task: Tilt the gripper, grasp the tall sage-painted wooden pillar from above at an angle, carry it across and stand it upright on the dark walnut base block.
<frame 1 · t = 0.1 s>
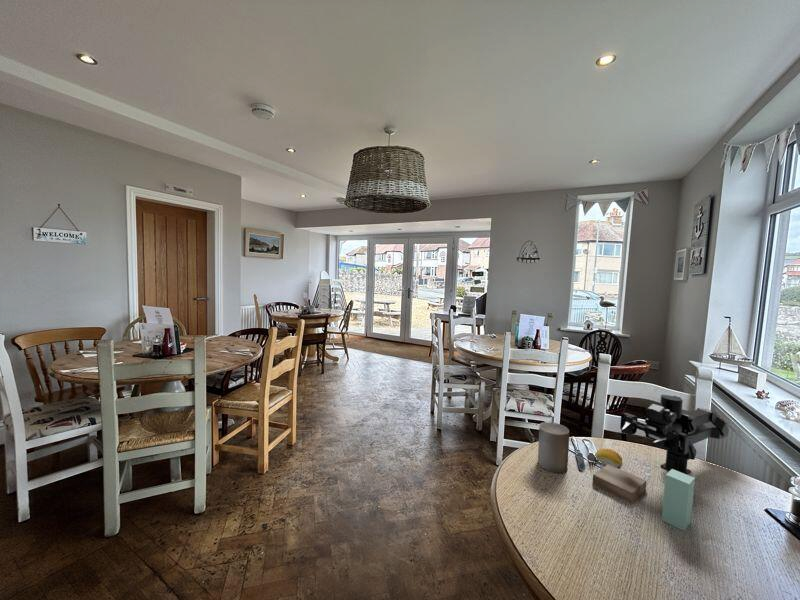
hand: (636, 437, 104), 17 cm above the table, tool horizontal, fingers open, 9 cm apart
walnut base: (618, 486, 106), on the table
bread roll: (608, 462, 121), on the table
pillar candle: (551, 466, 117), on the table
pillar: (676, 521, 91), on the table
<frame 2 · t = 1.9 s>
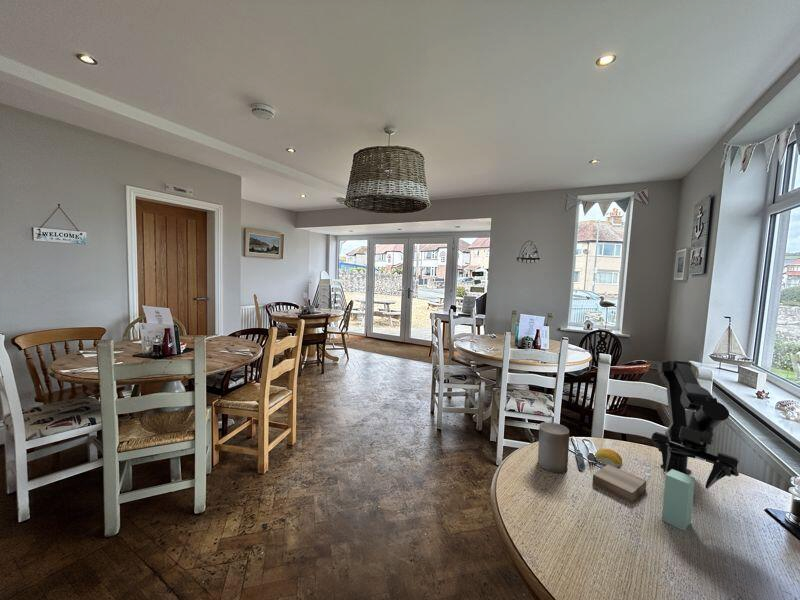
hand: (684, 479, 92), 11 cm above the table, tool tilted 45°, fingers open, 9 cm apart
nothing on the table moved.
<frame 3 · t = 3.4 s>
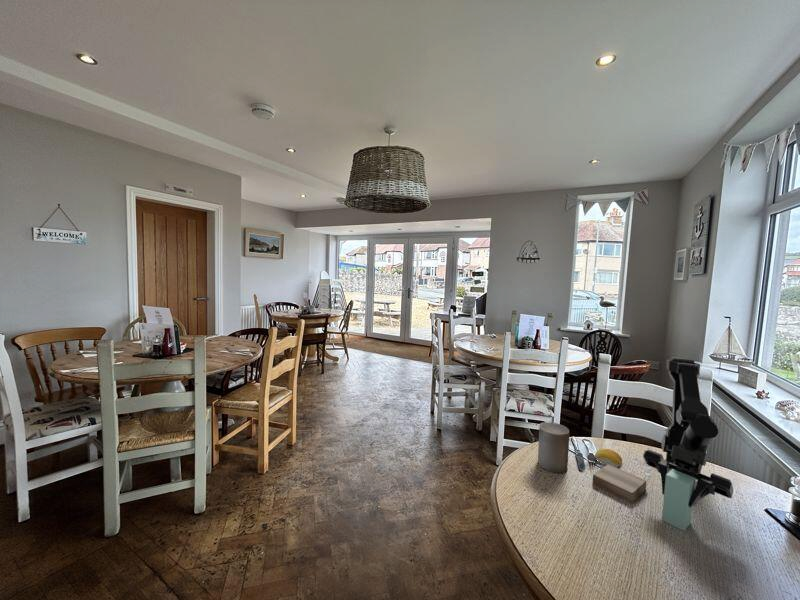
hand: (676, 500, 90), 7 cm above the table, tool tilted 45°, fingers closed on pillar, 5 cm apart
pillar: (676, 521, 91), on the table, touching gripper
everything else where it was.
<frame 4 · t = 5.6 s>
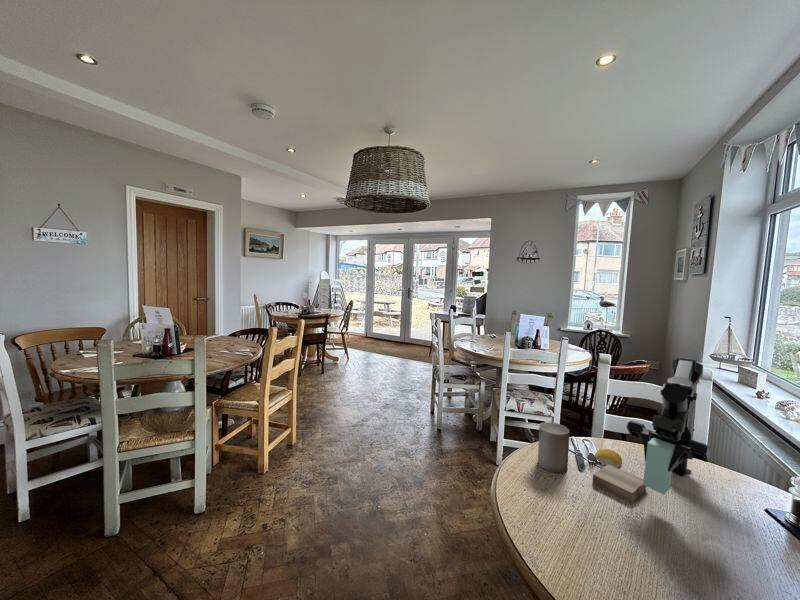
hand: (657, 466, 94), 13 cm above the table, tool tilted 45°, fingers closed on pillar, 5 cm apart
pillar: (656, 486, 96), point 6 cm above the table, touching gripper
everything else where it was.
when the fingers open (11 cm above the table, at t = 7.3 s): pillar drops 1 cm, resting on walnut base.
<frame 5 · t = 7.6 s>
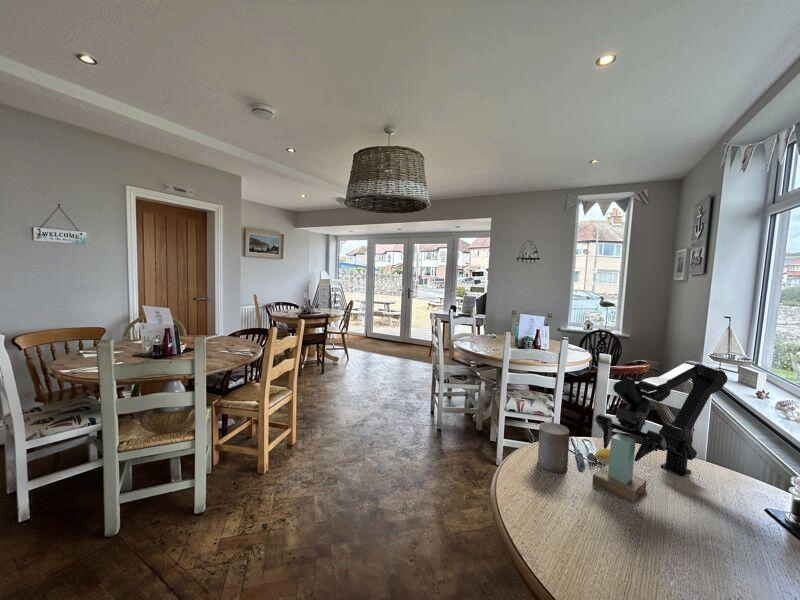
hand: (619, 454, 104), 11 cm above the table, tool tilted 45°, fingers open, 8 cm apart
pillar: (619, 477, 106), point 3 cm above the table, touching walnut base
everything else where it was.
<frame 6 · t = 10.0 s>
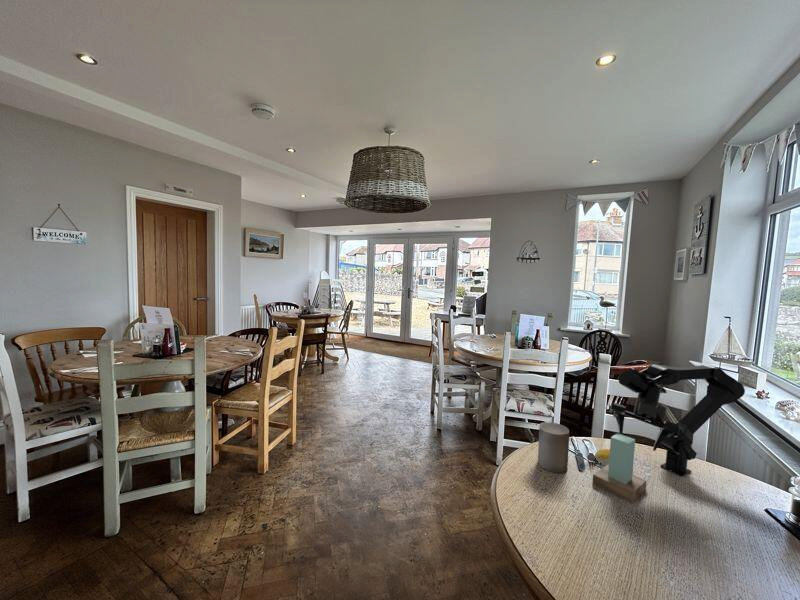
hand: (636, 443, 108), 13 cm above the table, tool tilted 35°, fingers open, 9 cm apart
nothing on the table moved.
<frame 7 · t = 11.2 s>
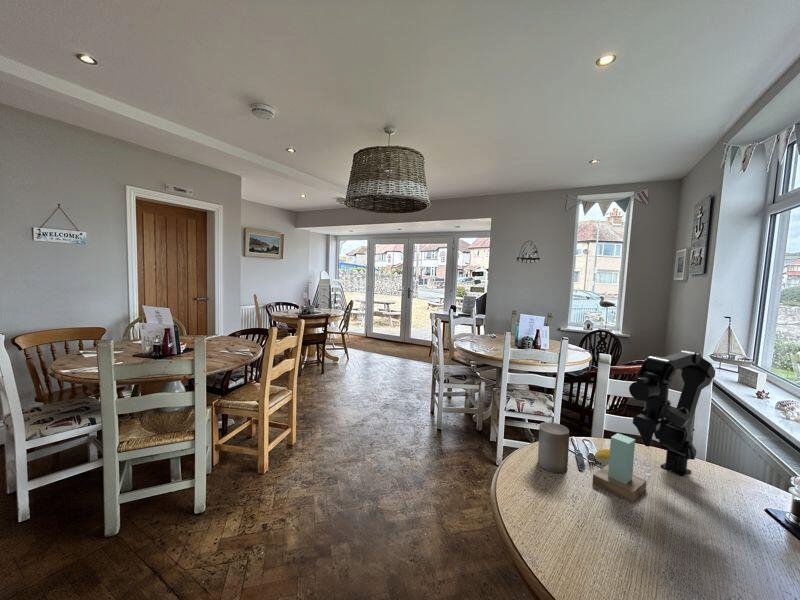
hand: (652, 442, 109), 13 cm above the table, tool pointing down, fingers open, 9 cm apart
nothing on the table moved.
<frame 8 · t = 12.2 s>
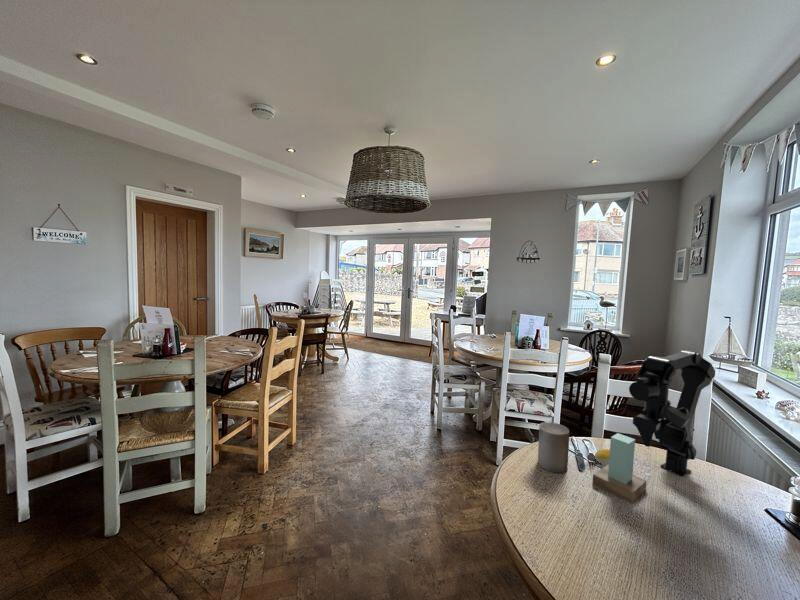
hand: (652, 442, 109), 13 cm above the table, tool pointing down, fingers open, 9 cm apart
nothing on the table moved.
at the end: pillar 0.1 cm off-centre on the walnut base, point 3.0 cm above the walnut base's base; pillar tilted 0°; pillar touching walnut base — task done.
